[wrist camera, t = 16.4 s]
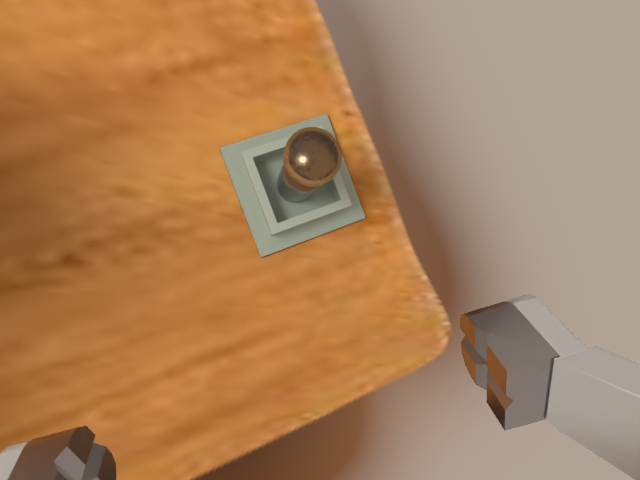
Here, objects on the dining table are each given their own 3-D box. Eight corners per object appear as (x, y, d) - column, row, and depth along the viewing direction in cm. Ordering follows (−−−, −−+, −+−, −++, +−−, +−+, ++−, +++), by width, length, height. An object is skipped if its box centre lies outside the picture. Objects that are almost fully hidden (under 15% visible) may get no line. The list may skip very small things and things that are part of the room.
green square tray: (260, 257, 49) (261, 257, 46) (219, 149, 49) (217, 140, 45) (364, 218, 52) (373, 215, 48) (326, 115, 51) (331, 104, 48)
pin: (282, 211, 49) (296, 192, 36) (267, 171, 49) (275, 137, 35) (322, 197, 50) (350, 173, 36) (307, 158, 50) (329, 119, 36)
